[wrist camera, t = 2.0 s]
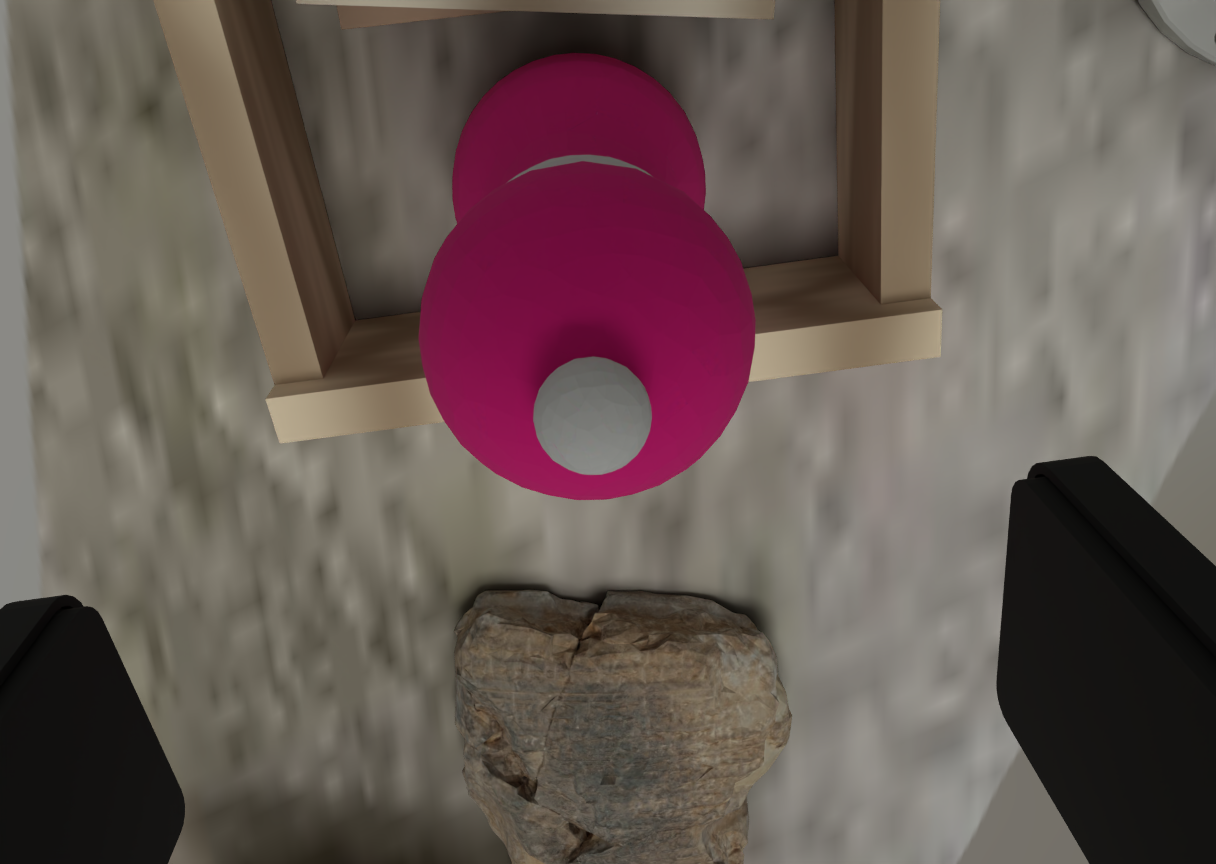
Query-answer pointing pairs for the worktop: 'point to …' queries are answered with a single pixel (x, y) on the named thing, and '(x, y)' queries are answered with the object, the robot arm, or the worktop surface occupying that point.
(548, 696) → the clay tablet
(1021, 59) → the worktop surface
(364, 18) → the walnut offcut
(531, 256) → the pepper mill
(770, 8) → the birch offcut
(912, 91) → the oak rack
